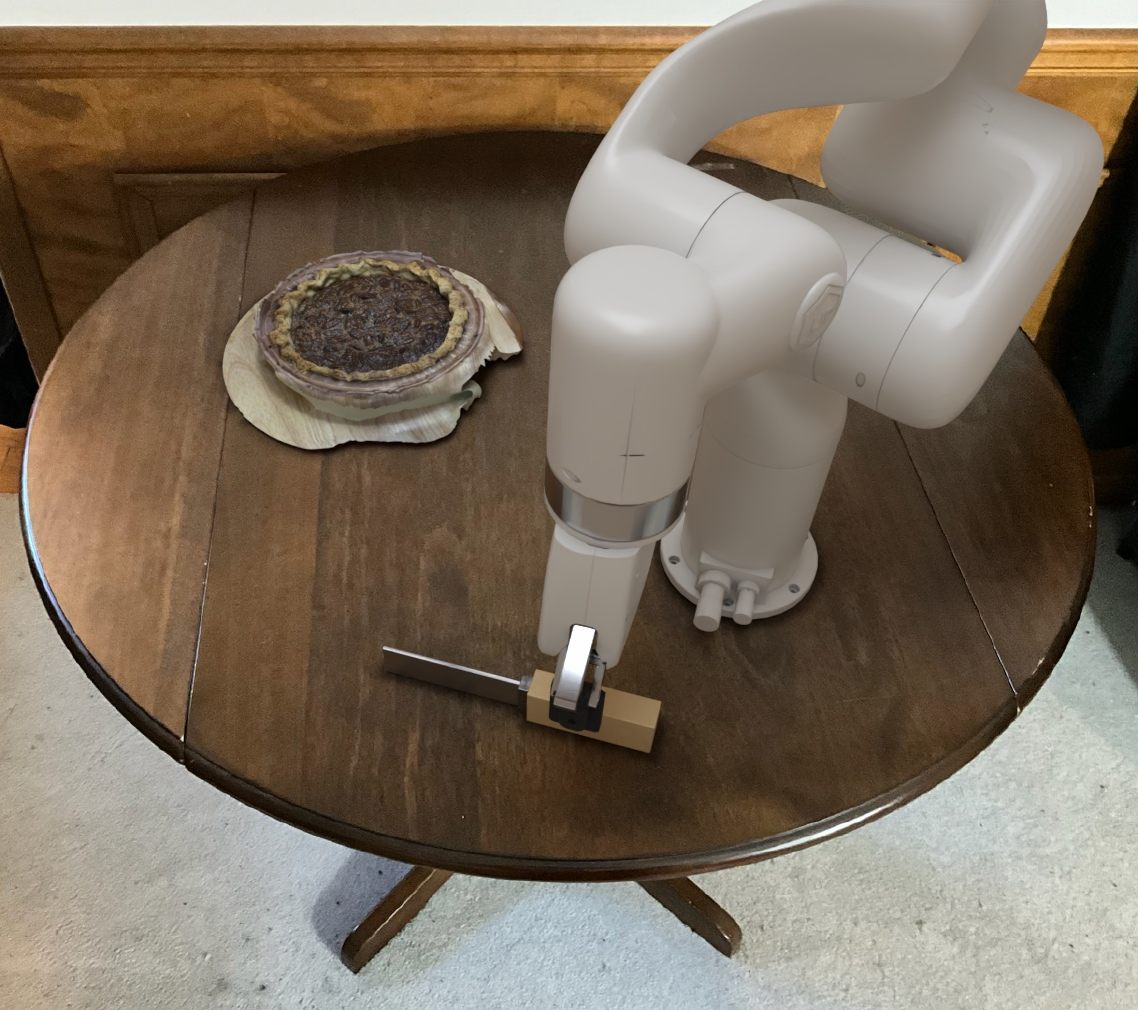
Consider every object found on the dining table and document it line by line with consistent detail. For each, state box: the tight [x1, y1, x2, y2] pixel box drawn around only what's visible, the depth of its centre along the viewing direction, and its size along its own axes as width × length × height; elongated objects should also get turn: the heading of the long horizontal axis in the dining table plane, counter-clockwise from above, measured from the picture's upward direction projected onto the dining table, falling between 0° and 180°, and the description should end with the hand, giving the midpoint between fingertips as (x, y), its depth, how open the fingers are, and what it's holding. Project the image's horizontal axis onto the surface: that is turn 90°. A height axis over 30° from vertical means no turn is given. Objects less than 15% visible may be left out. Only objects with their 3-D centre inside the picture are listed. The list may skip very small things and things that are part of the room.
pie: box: [222, 249, 524, 450], centre depth 97 cm, size 28×27×5 cm
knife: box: [382, 645, 662, 754], centre depth 73 cm, size 20×2×4 cm, turn 75°
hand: (594, 658), depth 67 cm, fingers open, 9 cm apart
